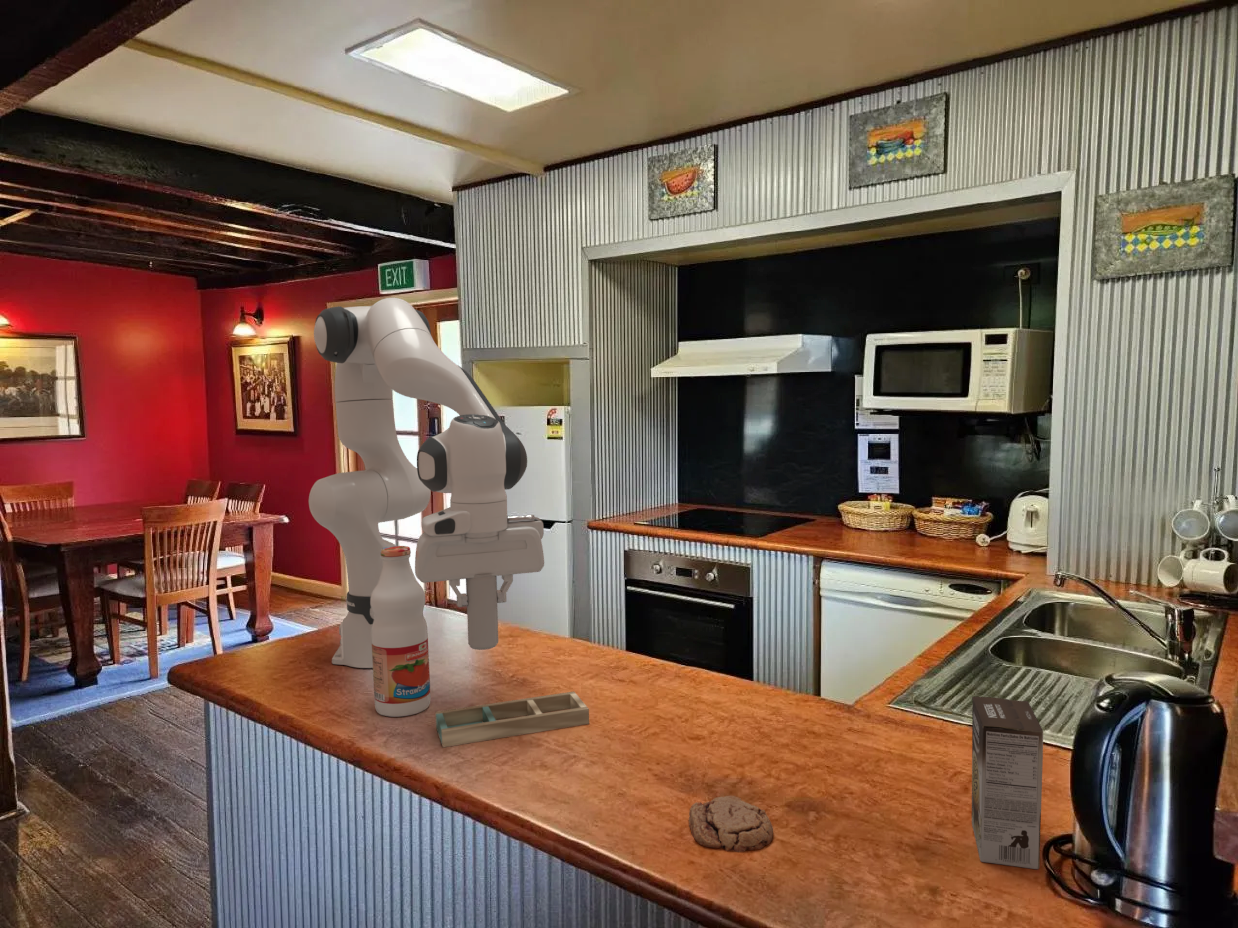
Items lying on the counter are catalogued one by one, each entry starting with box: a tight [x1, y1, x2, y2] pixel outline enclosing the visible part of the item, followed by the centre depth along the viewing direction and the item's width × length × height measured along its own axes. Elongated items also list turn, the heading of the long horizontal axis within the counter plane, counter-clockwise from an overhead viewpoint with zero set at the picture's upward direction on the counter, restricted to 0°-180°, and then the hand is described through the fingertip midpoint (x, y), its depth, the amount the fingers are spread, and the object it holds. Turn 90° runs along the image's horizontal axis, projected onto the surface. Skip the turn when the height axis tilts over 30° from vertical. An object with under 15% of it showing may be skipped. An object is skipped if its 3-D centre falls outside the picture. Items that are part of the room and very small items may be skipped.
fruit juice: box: [370, 545, 432, 718], centre depth 143 cm, size 9×9×28 cm
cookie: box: [688, 795, 774, 853], centre depth 102 cm, size 10×11×3 cm
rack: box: [434, 691, 590, 748], centre depth 135 cm, size 8×24×2 cm, turn 109°
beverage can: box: [465, 574, 499, 651], centre depth 133 cm, size 5×5×12 cm
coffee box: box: [971, 696, 1044, 870], centre depth 96 cm, size 9×6×16 cm
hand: (481, 603), depth 133 cm, fingers closed on beverage can, 5 cm apart
